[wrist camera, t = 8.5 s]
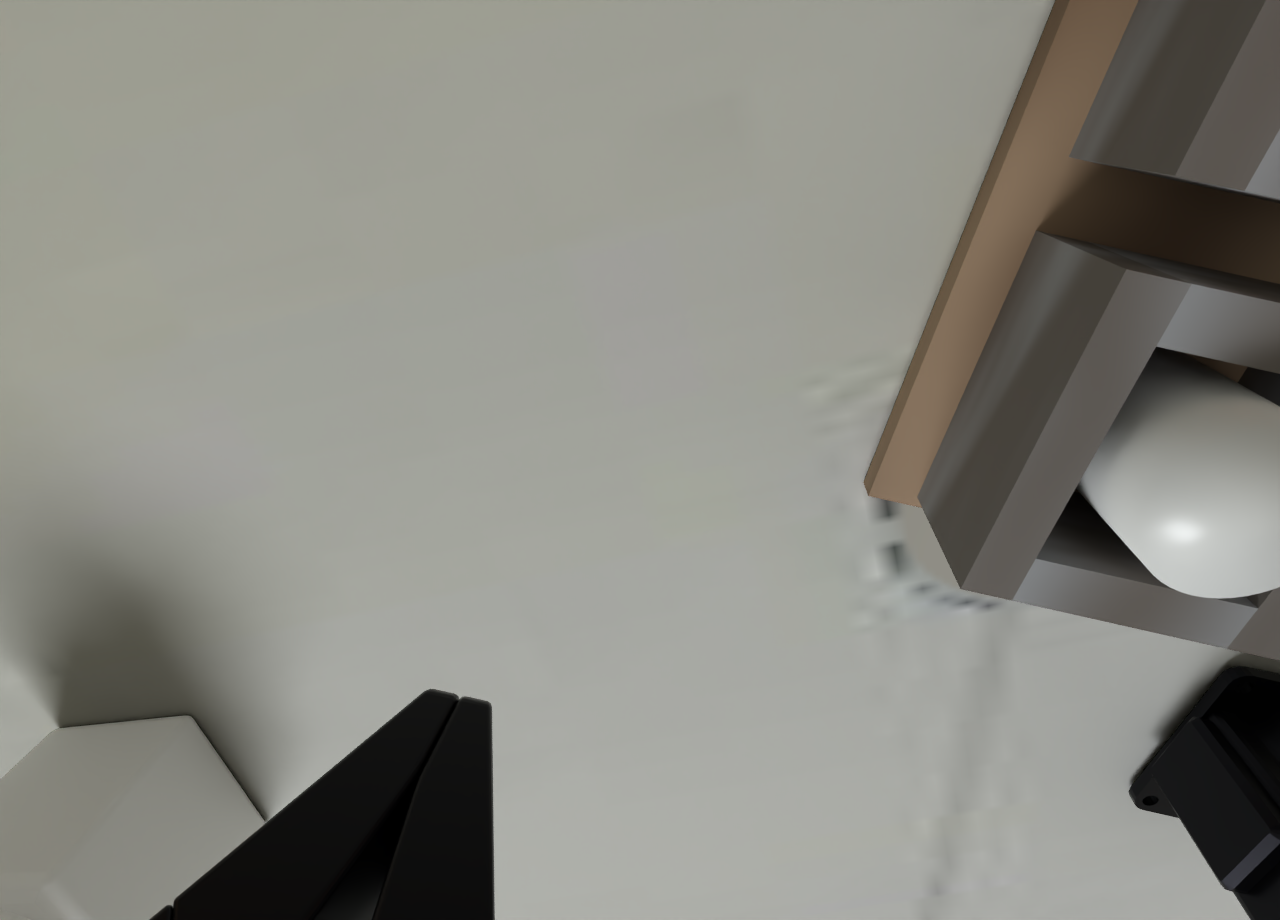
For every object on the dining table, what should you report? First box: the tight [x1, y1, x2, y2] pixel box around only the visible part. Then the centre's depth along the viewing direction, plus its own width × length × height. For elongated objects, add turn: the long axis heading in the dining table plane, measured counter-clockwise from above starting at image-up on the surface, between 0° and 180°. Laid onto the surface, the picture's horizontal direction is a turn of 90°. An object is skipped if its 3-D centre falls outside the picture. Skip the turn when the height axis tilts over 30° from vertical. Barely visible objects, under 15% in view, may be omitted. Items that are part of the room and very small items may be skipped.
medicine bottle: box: [0, 715, 265, 920], centre depth 26 cm, size 7×7×12 cm
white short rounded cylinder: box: [1076, 346, 1280, 598], centre depth 16 cm, size 4×4×5 cm
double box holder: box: [864, 0, 1280, 660], centre depth 14 cm, size 10×17×5 cm, turn 169°
